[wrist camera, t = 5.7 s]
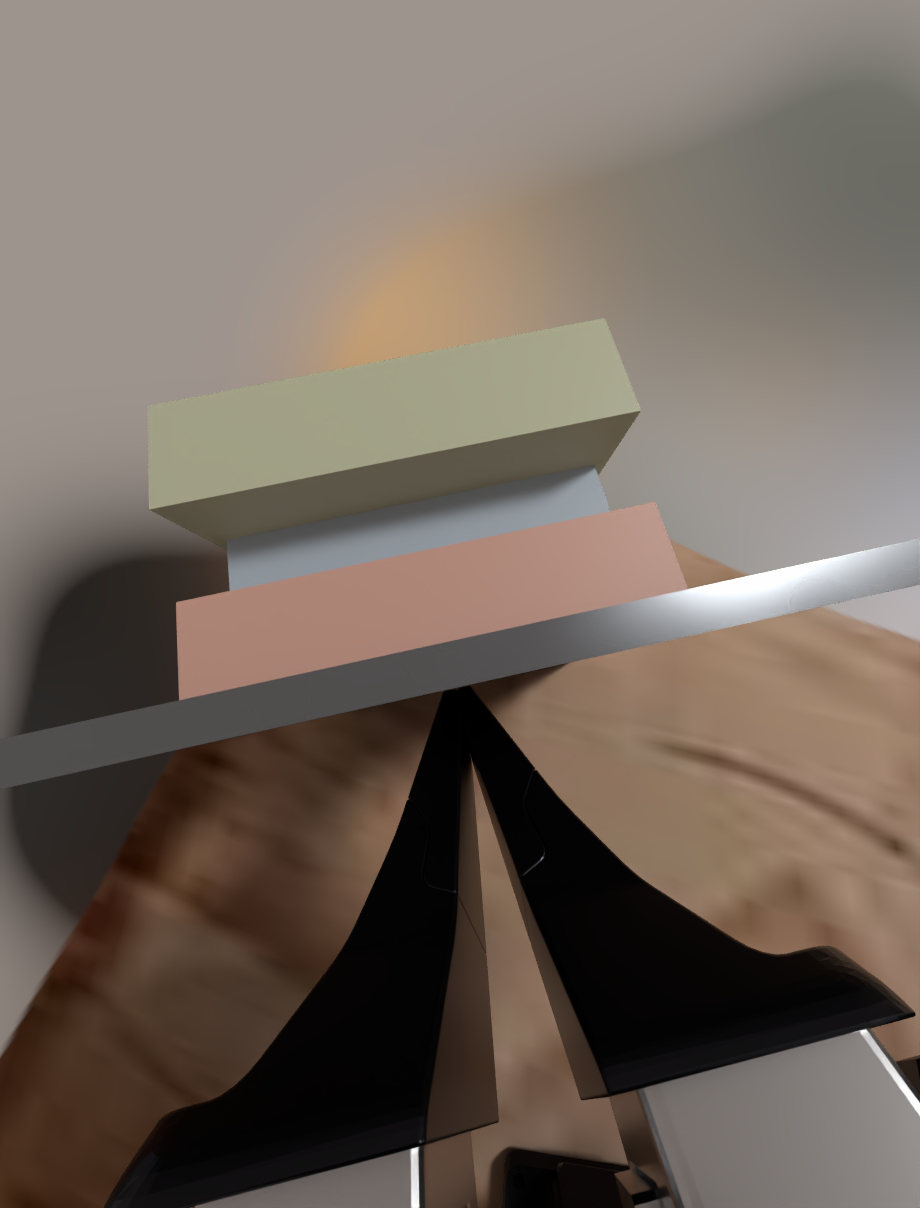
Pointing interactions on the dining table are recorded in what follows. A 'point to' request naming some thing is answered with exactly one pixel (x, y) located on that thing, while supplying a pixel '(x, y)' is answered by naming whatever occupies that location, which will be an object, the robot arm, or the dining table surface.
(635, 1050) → the robot arm
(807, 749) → the dining table surface
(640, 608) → the bookend
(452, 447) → the book row
